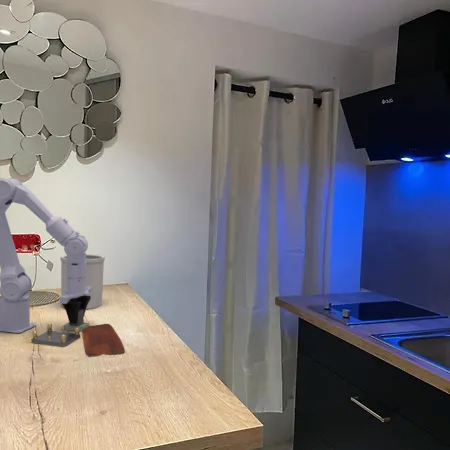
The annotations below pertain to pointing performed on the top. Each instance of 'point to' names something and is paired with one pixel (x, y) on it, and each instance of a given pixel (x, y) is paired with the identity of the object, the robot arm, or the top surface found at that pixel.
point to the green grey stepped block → (78, 322)
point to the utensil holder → (88, 278)
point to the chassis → (55, 337)
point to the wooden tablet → (102, 341)
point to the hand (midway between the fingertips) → (76, 321)
